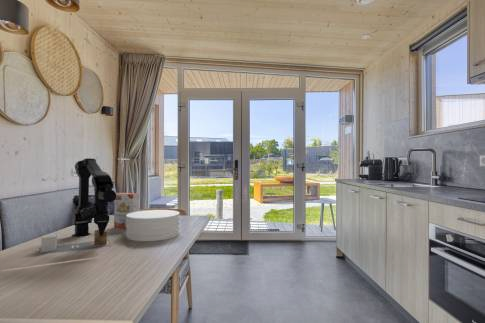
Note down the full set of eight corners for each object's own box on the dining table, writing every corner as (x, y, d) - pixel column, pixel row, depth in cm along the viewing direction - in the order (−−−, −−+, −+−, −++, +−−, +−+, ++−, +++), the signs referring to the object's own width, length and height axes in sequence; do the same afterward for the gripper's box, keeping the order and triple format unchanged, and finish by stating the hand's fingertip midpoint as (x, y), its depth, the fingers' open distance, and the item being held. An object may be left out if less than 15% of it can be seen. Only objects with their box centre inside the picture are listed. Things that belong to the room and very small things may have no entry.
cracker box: (113, 227, 167) (113, 193, 167) (120, 225, 172) (120, 192, 173) (132, 229, 163) (133, 194, 163) (139, 227, 168) (139, 193, 169)
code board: (35, 256, 112) (35, 254, 112) (40, 248, 123) (40, 247, 123) (110, 247, 126) (110, 245, 126) (109, 240, 136) (109, 239, 136)
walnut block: (94, 245, 126) (94, 232, 126) (94, 243, 130) (94, 230, 130) (106, 244, 128) (106, 231, 128) (106, 241, 133) (106, 229, 133)
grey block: (41, 252, 116) (41, 237, 116) (42, 249, 120) (43, 235, 121) (55, 250, 118) (55, 236, 119) (56, 247, 123) (56, 234, 123)
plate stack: (114, 237, 145) (114, 215, 145) (153, 227, 169) (154, 208, 170) (152, 244, 132) (153, 220, 132) (189, 232, 156) (189, 212, 157)
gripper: (82, 199, 134) (81, 231, 133) (80, 203, 117) (80, 240, 117) (107, 198, 139) (106, 229, 139) (109, 202, 123) (109, 237, 123)
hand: (100, 233), depth 129 cm, fingers open, 9 cm apart
